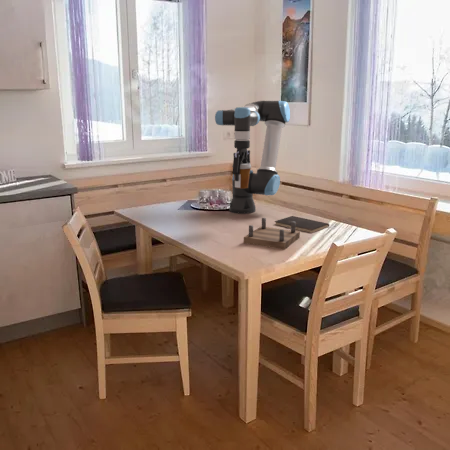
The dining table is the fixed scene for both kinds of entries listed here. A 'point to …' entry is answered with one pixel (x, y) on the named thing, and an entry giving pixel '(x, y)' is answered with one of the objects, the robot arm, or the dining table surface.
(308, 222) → the hardcover book
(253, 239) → the peg board
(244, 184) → the disposable coffee cup
